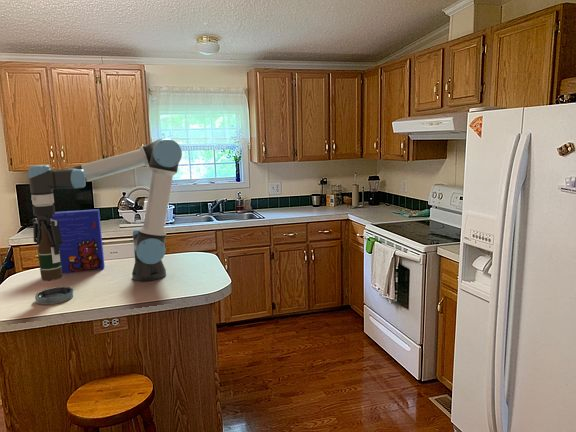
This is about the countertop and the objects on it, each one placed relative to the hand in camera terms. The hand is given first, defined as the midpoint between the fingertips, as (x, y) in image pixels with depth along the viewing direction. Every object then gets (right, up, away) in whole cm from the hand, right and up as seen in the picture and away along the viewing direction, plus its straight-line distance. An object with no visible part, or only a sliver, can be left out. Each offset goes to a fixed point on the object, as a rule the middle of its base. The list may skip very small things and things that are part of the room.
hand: (50, 261), depth 170 cm
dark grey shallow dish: (0, -16, +3) cm, 16 cm away
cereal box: (-8, -9, +42) cm, 44 cm away
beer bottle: (0, -7, +1) cm, 7 cm away
